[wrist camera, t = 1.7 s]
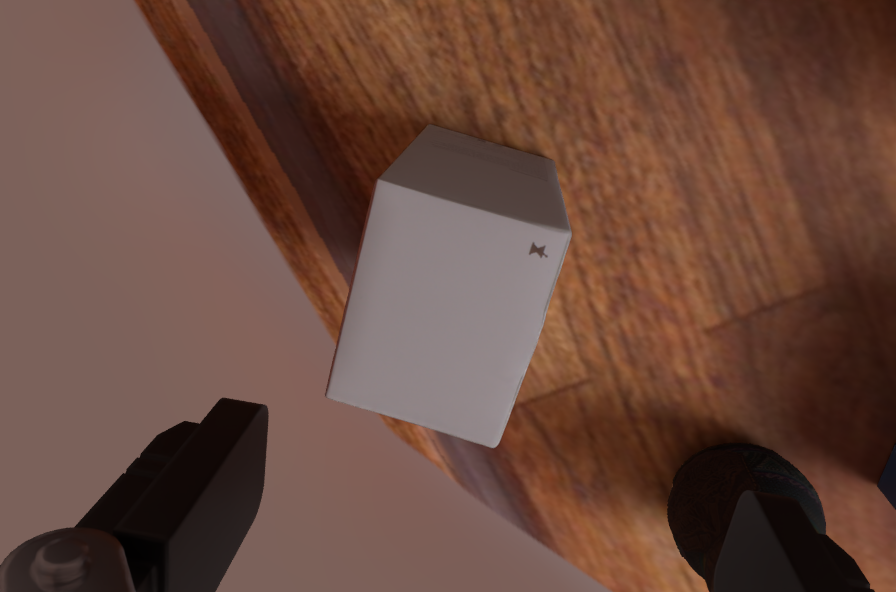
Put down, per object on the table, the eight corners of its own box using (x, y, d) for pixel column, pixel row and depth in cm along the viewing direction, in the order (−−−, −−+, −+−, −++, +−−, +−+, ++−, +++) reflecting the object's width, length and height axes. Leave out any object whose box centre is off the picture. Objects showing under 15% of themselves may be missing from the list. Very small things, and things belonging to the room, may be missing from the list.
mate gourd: (828, 482, 38) (929, 628, 29) (717, 563, 41) (778, 723, 31) (735, 397, 37) (809, 522, 28) (626, 486, 39) (661, 628, 30)
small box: (426, 121, 34) (374, 171, 21) (557, 158, 34) (579, 230, 21) (386, 278, 36) (320, 402, 24) (507, 313, 37) (501, 454, 24)
